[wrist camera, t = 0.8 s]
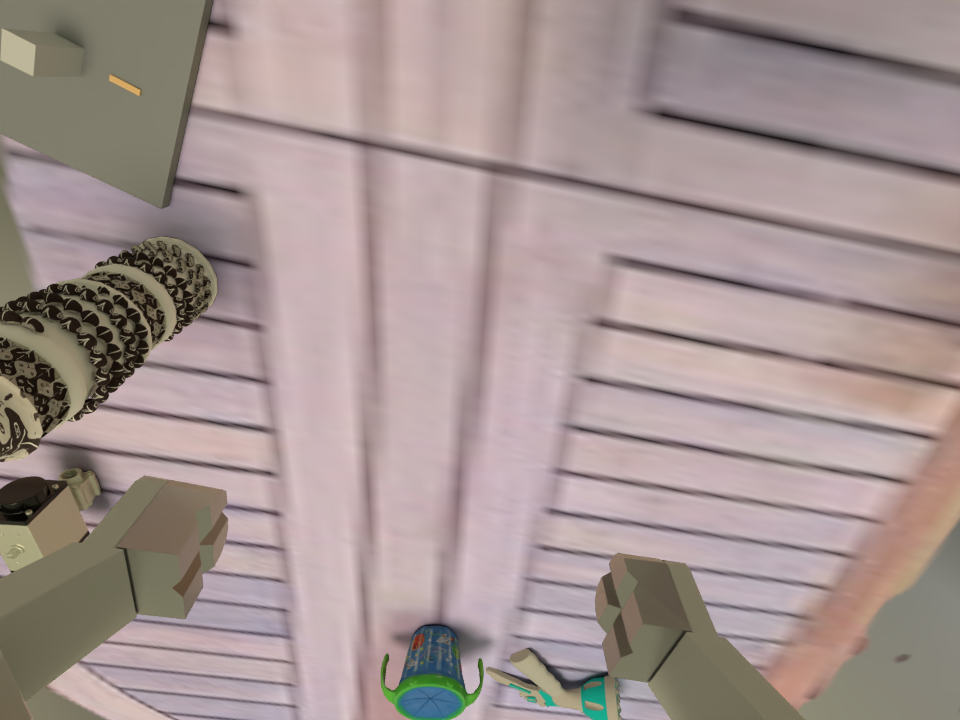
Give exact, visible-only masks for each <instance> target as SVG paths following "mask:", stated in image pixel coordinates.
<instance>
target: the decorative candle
mask: <svg viewBox="0 0 960 720" xmlns="http://www.w3.org/2000/svg"><path fill="white" fill-rule="evenodd" d="M131 250H132V252H133V253H132V254H131V253H129V252H128V251H127V250H123V251H121V253H120V254H119V257H117V256H112V257H110V258H109V259H108V260H107V262H103V261H102V262H99V263H97V264H96V266H95V269H94V270H92V271H90V272H88V273H87V274H85V275H84V276H83V277H82V278H81V279H80V278H77V279H72V280H67V281H62V282H58V283H56V284H52V285H49V286H48V287H47V289H43V290H40V291H39V292H31V293H29V294H28V295H27V297H24V296H23V297H20V298H18V299H17V300H15V301H10V302H8V303H7V304H5V307H0V462H4V461H10V460H17V459H23V458H25V457H26V456H27V455H29V454H30V453H32V452H33V451H34V450H36V449H37V448H38V446H39V443H40V439H41V438H42V437H44V436H45V435H46V434H47V433H49V432H50V431H51V430H53V429H56V428H58V427H59V426H61V425H62V424H63V423H65V422H66V421H77V420H80V419H81V418H82V417H83V413H84V414H89V413H92V412H94V411H95V410H96V409H97V408H98V403H103V402H105V401H106V400H107V399H108V397H109V393H112V392H115V391H116V390H117V389H118V387H119V386H120V385H122V384H123V383H124V382H125V378H128V377H130V376H132V375H133V374H134V371H135V370H134V369H135V368H140V367H141V366H142V365H143V364H144V362H145V361H146V360H147V358H148V356H149V353H150V351H151V350H152V349H154V348H155V347H156V346H158V345H159V344H160V343H162V342H163V341H170V340H172V339H173V337H174V334H179V333H180V332H181V331H182V327H186V326H188V325H190V324H191V323H192V322H193V320H195V319H197V318H198V317H199V316H200V315H201V313H203V312H205V311H206V310H207V309H208V307H210V306H211V305H212V304H213V302H214V300H215V297H216V295H217V293H218V287H217V277H216V275H215V272H214V270H213V268H212V266H211V264H210V262H209V261H208V260H207V259H206V258H205V257H204V256H203V255H202V254H201V253H200V252H199V251H198V249H196V248H194V247H193V246H191V245H189V244H187V243H186V242H184V241H182V240H180V239H175V238H170V237H165V236H161V237H156V238H151V239H147V240H145V241H144V242H143V243H142V244H140V245H139V246H137V245H134V246H132V247H131ZM108 392H109V393H108ZM93 393H94V394H93ZM92 394H93V395H92ZM91 395H92V396H91ZM90 396H91V397H92V399H89V398H88V397H90ZM91 397H90V398H91Z"/></svg>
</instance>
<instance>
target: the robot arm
mask: <svg viewBox="0 0 960 720" xmlns="http://www.w3.org/2000/svg"><path fill="white" fill-rule="evenodd" d="M226 504H227V494H226V491H225V490H222V489H216V488H211V487H206V486H200V485H195V484H190V483H184V482H179V481H174V480H167V479H161V478H156V477H150V476H143V477H142V478H140V479H138V480H137V481H135V482H134V484H133V485H132V486H131V487H130V488H129V489H128V491H127V492H126V493H125V494H124V495H123V496H122V498H121V499H120V500H119V501H118V502H117V503H116V505H115V506H114V507H113V508H112V509H111V510H110V512H109V513H108V514H107V515H106V516H105V517H104V519H103V520H102V521H101V522H100V523H99V524H98V526H97V527H96V528H95V529H94V530H93V531H92V533H91V534H90V535H89V536H88V537H87V538H86V540H85V541H84V542H83V543H78V542H73V543H71V544H69V545H67V546H65V547H63V548H61V549H59V550H57V551H55V552H53V553H51V554H49V555H47V556H45V557H43V558H41V559H39V560H37V561H35V562H33V563H31V564H29V565H27V566H25V567H23V568H21V569H19V570H17V571H15V572H13V573H11V574H9V575H7V576H5V577H3V578H1V579H0V720H33V718H32V715H31V713H30V711H29V709H28V707H27V704H26V701H27V700H28V699H30V698H31V697H32V696H34V695H35V694H36V693H37V692H39V691H40V690H41V689H43V688H44V687H45V686H47V685H48V684H49V683H51V682H52V681H53V680H55V679H56V678H57V677H59V676H60V675H61V674H62V673H64V672H65V671H66V670H68V669H69V668H70V667H72V666H73V665H74V664H76V663H77V662H78V661H80V660H81V659H82V658H83V657H85V656H86V655H87V654H89V653H90V652H91V651H93V650H94V649H95V648H97V647H98V646H99V645H101V644H102V643H103V642H104V641H106V640H107V639H108V638H110V637H111V636H112V635H114V634H115V633H116V632H118V631H119V630H120V629H122V628H123V627H124V626H125V625H127V624H128V623H129V622H131V621H132V620H133V619H135V618H136V617H137V615H136V614H141V615H150V616H160V617H169V618H179V619H186V617H187V615H188V613H189V612H190V610H191V608H192V606H193V604H194V603H195V601H196V599H197V597H198V595H199V594H200V592H201V590H202V588H203V578H202V574H203V573H205V572H206V571H208V570H210V569H211V568H213V567H214V566H215V564H216V562H217V560H218V558H219V557H220V555H221V552H222V550H223V547H224V544H225V541H226V538H227V531H228V518H227V517H226V516H225V515H224V514H223V513H222V511H223V509H224V508H225V506H226ZM609 566H610V570H611V572H610V573H608V574H606V575H604V576H603V577H602V578H601V580H600V582H599V584H598V586H597V590H596V597H595V611H596V616H597V621H598V623H599V625H600V626H601V627H602V628H603V630H604V631H605V632H606V633H607V635H606V637H605V639H604V641H603V643H602V646H603V650H604V655H605V660H606V664H607V669H608V674H609V676H610V677H616V678H622V679H629V680H635V681H641V682H647V683H649V684H648V686H649V687H650V689H651V690H652V692H653V693H654V695H655V696H656V698H657V699H658V701H659V702H660V704H661V705H662V707H663V708H664V710H665V711H666V713H667V714H668V716H669V717H670V719H671V720H805V719H804V718H803V717H802V716H801V715H800V714H799V713H798V712H797V711H796V710H795V709H794V708H793V707H792V706H791V705H790V704H789V703H788V701H787V700H786V699H785V698H784V697H783V696H782V695H781V694H780V693H779V692H778V691H777V690H776V689H775V688H774V687H773V686H772V685H771V684H770V683H769V682H768V681H767V680H766V679H765V678H764V677H763V676H762V675H761V674H760V673H759V672H758V671H757V670H756V669H755V668H754V667H753V666H752V665H751V664H750V663H749V662H748V661H747V660H746V659H745V658H744V657H743V656H742V655H741V654H740V653H739V652H738V650H737V649H736V648H735V647H734V646H733V645H732V644H731V643H730V642H729V641H728V640H727V639H726V638H724V637H719V636H718V635H717V632H716V630H715V628H714V625H713V623H712V621H711V618H710V616H709V613H708V611H707V609H706V606H705V604H704V602H703V599H702V597H701V595H700V592H699V590H698V587H697V585H696V583H695V580H694V578H693V576H692V573H691V571H690V569H689V567H688V566H687V565H686V564H685V563H679V562H673V561H667V560H660V559H656V558H649V557H642V556H636V555H629V554H622V553H617V554H616V555H614V556H613V557H612V559H611V561H610V563H609Z"/></svg>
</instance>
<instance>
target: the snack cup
mask: <svg viewBox="0 0 960 720" xmlns="http://www.w3.org/2000/svg"><path fill="white" fill-rule="evenodd" d="M388 661H389V655H388V653H387V654H386V655H385V657H384V660H383V663H382V667H381V687H382V690H383V693H384V695H385V697H386V698H387V699H388V700H389V701H390V702H391V703H393V704H394V705H395V708H396V709H397V711H398V712H399V713H400V714H402V715H403V716H405V717H407V718H409V719H412V720H450V719H453V718H455V717H457V716H458V715H460V714H461V713H462V712H463V711H464V709H465V707H467V706H469V705H470V704H472V703H474V701H475V700H476V698H477V697H478V696H479V694H480V691H481V688H482V683H483V674H484V670H483V663H482V659H481V658H479V661H478V669H479V672H480V674H479V675H480V684H479V687H478V688H477V689H476V690H475V692H474V693H473V694H468V693H467V692H466V689H465V684H464V680H463V676H462V669H461V660H460V651H459V642H458V639H457V637H456V635H455V633H454V632H453V631H451V630H450V629H449V628H447V627H442V626H423V627H422V628H421V629H419V630H418V631H417V632H416V633H415V634H414V635H413V637H412V639H411V643H410V647H409V650H408V653H407V657H406V661H405V665H404V669H403V672H402V677H401V680H400V682H399V686H398V687H397V688H396V689H395V690H390V689H389V688H387V687H386V686H385V675H386V666H387V663H388Z"/></svg>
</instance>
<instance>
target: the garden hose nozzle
mask: <svg viewBox="0 0 960 720" xmlns="http://www.w3.org/2000/svg"><path fill="white" fill-rule="evenodd" d="M510 662H511V663H512V664H513V665H514V666H515V667H516V668H517V669H518V670H519V671H521V672H522V673H524V674H525V675H526V676H527V677H528V678H529V679H531V680H532V681H533V682H534V683H535V684H537V685H538V686H535V685H531V684H527V683H525V682H523V681H521V680H519V679H516V678H514V677H512V676H510V675H508V674H505V673H503V672H501V671H499V670H498V669H494V668H491V667H488V668H486V672H487V673H488V674H489V675H490V676H491V677H492V678H493V679H495V680H496V681H498V682H500V683H502V684H505V685H508V686H510V687H513V688H515V689H518V690H519V692H520V697H524V698H525V699H526V700H527V701H529V702H533V703H538V704H539V705H540V706H542V707H545V706H547V707H548V706H560V707H565V708H571V709H575V710H580V711H581V713H583V712H584V713H585V714H586V715H587V716H588V717H589V718H590V719H592V720H622V718H621V716H620V715H619V714H620V713H621V708H620V705H619V703H620V699H619V698H620V695H619V694H618V693H619V690H618V689H617V688H618V682H617V681H616V680H615V677H610V676H605V677H597V678H593V679H591V680H589V681H587V682H586V683H585V684H584V685H583V686H582V687H581V686H580V687H579V688H575V689H569V690H566V689H563V688H562V687H561V684H560V682H559V681H558V680H556V679H555V677H554V676H553V675H552V674H551V673H550V672H548V671H547V670H546V667H545V666H544V665H543V664H542V663H541V662H539V660H538V658H537V657H536V656H535V655H534V654H533V653H532V652H531V651H530V650H529V649H524V650H521V651H519V652H517V653H514V654H512V656H511V657H510Z"/></svg>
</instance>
